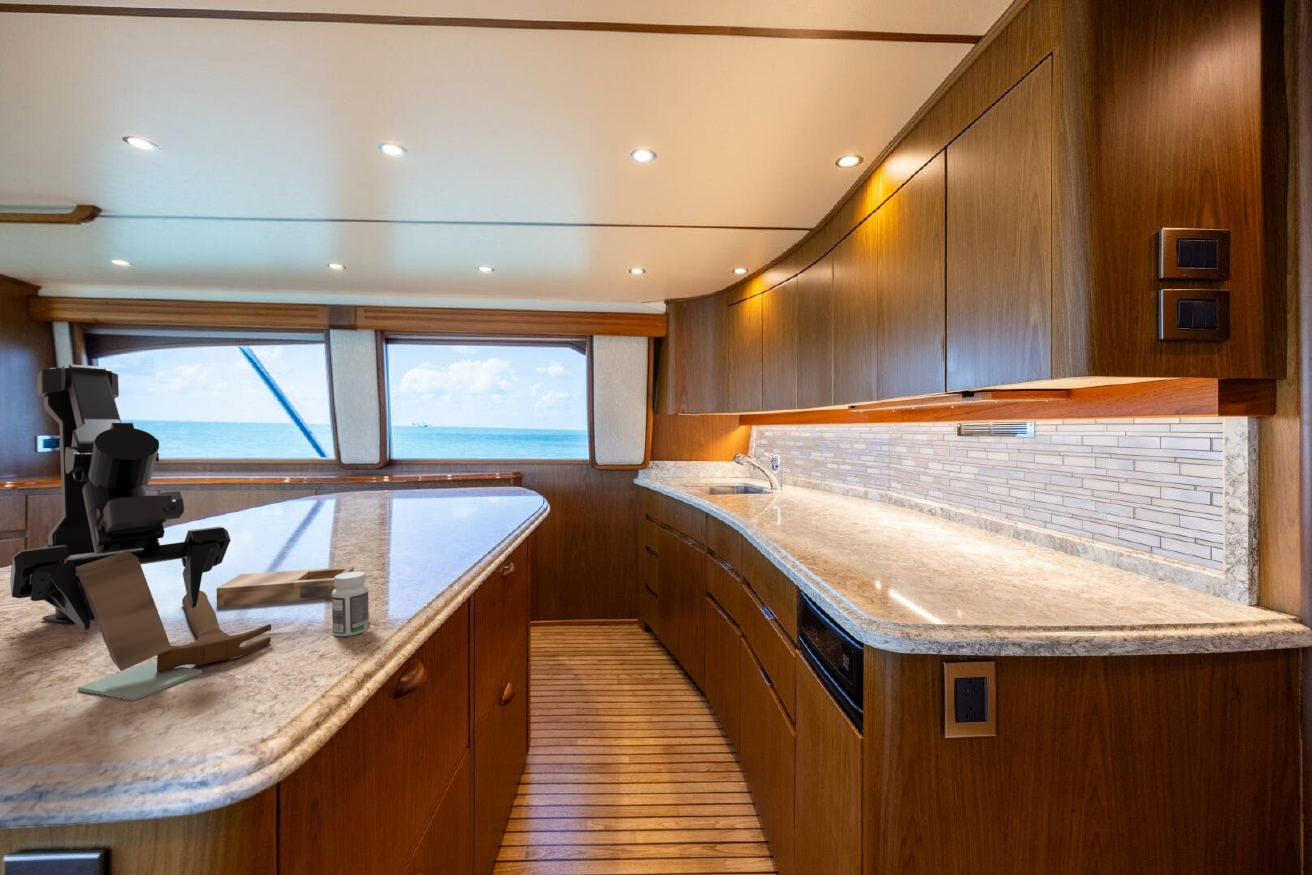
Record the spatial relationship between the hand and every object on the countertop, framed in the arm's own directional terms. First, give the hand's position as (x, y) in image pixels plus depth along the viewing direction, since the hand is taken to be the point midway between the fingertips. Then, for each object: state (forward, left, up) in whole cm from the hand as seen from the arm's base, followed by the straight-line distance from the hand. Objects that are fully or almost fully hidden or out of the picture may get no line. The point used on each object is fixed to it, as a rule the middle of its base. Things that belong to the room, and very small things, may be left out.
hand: (143, 616), depth 63 cm
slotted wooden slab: (-13, +29, -8) cm, 33 cm away
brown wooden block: (-1, +1, -5) cm, 5 cm away
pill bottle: (+10, +20, -8) cm, 24 cm away
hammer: (-10, +14, -8) cm, 19 cm away
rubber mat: (-1, 0, -8) cm, 8 cm away
